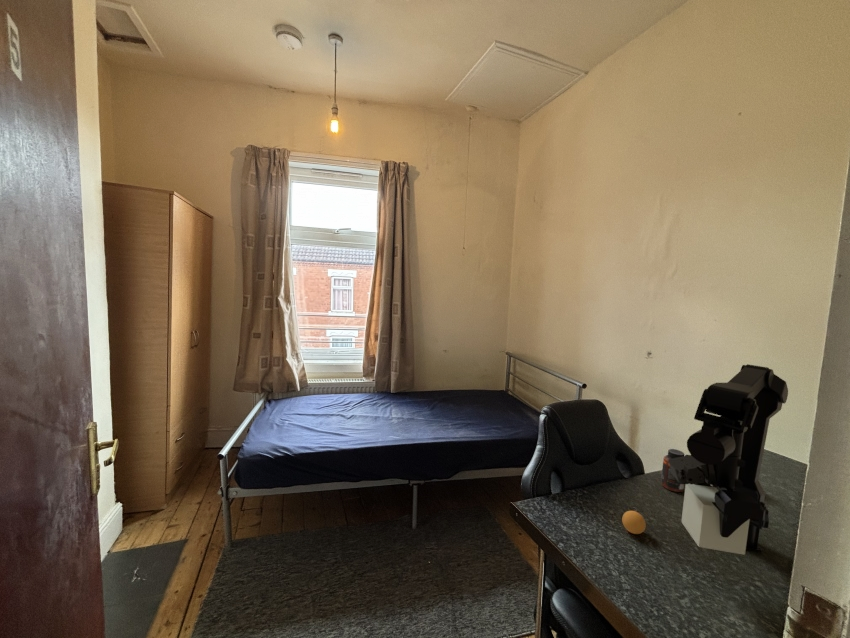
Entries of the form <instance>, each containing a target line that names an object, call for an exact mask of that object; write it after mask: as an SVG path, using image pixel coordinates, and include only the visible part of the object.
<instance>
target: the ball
mask: <svg viewBox="0 0 850 638" xmlns="http://www.w3.org/2000/svg"><path fill="white" fill-rule="evenodd" d="M621 521H622V522H621V523H622V524H623V527H624V528H625V530H627V531H628V532H629V533H631V534H632V535H633V534H634V535H639V534H642V533H643V532H644V531H645V529H646V526H647V525H646V520H645V518H644V517H643V515H642V514H640V513H639V512H638V511H635V510H628V511H625V512H624V513H623V515H622V519H621Z"/></svg>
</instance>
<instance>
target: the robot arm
mask: <svg viewBox="0 0 850 638" xmlns="http://www.w3.org/2000/svg"><path fill="white" fill-rule="evenodd" d="M788 395H789V388H788V385H787V381H785V380H784V379H783V378H781V377H780V376H778V375H777V374H776V373H774V369H772V368H769V367H767V366H760V365H753V364H742V365H741V367H740V371H739V372H737V374H735V375H734V376H732V377H731V379H730V380H729V381H727V382H714V383H712V384H710V385H709V386H708V387H707V388H705V389H704V390H703V392H702V394H701V398H700V400H699V403H698V406H697V409H696V411H695V414H694V418H693V419H694V420H695V421H700V422H702V425H701V429H699V430H697V431H696V432H694V433H692V434H691V435H690V436H689V437H688V439H687V441H686V447H687V451H688V453H689V454H684V456H683V457H677V458H671V459H669V460H668V462H669V465H670V468H671V472H672V475H673V476H674V477H675V478H676V479H677V481H678V482H679V483H680V484H685V485H686V484H694V485H701V486H708V487H715V488H717V489H718V490H719V491H718V492H716V493H715V497H714V499H715V502H712V503H713V505H714V506H715V507H716V508H717V509H718V510H719V519H720V535H721V536H722V537H726V538H728V537H729V536H730V535H731V534H732V533H733V532H734V531H735V530H737V529H738V528H739V527H740V526H741V525H742V524H743V523H745V522H746V521H747V520H749V519H750V520H749V528H748V535H747V543H746V551H747V550H748V551H752V552H753V551H754V552H758V553H759V552H760V553H762V552H763V549H762V548H761V547H760V545H759V539H760V531H761V530H763V529H769V527H770V521H771V520H770V517H771V516H770V511H769V509H768V504H767V503H766V502H765V499H766V492H765V491H764V488H763V487H762V485H761V483H760V481H759V478H760V473H761V472H760V471H761V467H762V462H763V456H764V452H765V451H764V450H765V446H766V440H767V435H768V430H769V425H770V420H771V419H772V418H773V417H774V416H775V415H777V413H779V412H780V411H781V410H782V409H783V404H786V403H787V400H788Z"/></svg>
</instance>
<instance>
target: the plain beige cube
mask: <svg viewBox="0 0 850 638" xmlns="http://www.w3.org/2000/svg"><path fill="white" fill-rule="evenodd" d="M718 491H719V490H718V489H717V488H715V487H708V486H701V485H694V484H690V483H689V484H685V488H684V496H683V504H682V513H681V514H682V515H681V523H682V525H683V526H684V528H685V529H686V531H687V532H688V534H689V535H690V537H691V539H693V540H694V542H695V544H696V545H697V546H698V547H699V548H703V549H710V550H715V551H719V552H720V551H721V552H727V553H732V554H738V555H739V554H740V555H746V551H747V549H746V543H747V535H748V528H749V520H750V519H749V520H747V521H746V522H745V523H743V524H742V525H741V526H740V527H739V528H738V529H737V530H735V531H734V532H733V533H732V534H731V535H730V536H729V537H728V538H726V537H722V536H721V535H720V519H719V510H718V509H717V508H716V507H715V506H714V505H713V503H712V502H715V499H714V497H715V493H716V492H718Z"/></svg>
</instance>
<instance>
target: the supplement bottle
mask: <svg viewBox="0 0 850 638" xmlns="http://www.w3.org/2000/svg"><path fill="white" fill-rule="evenodd" d="M683 456H685V452H683V451H681V450H679V449H674V448H669V449H668V451H667V454H666V455H665V456H664V457H663V461H662V469H661V470H662V471H661V480H660V484H661V486H662V487H664V488H665V489H666V490H668V491H670V492H674V493H675V492H676V493H682V492H685V486H686V484H680V483H679V482H678V481H677V479H676V478H675V477H674V476H673V475H672V472H671V468H670V465H669V462H668V460H669V459H671V458H677V457H683Z"/></svg>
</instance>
